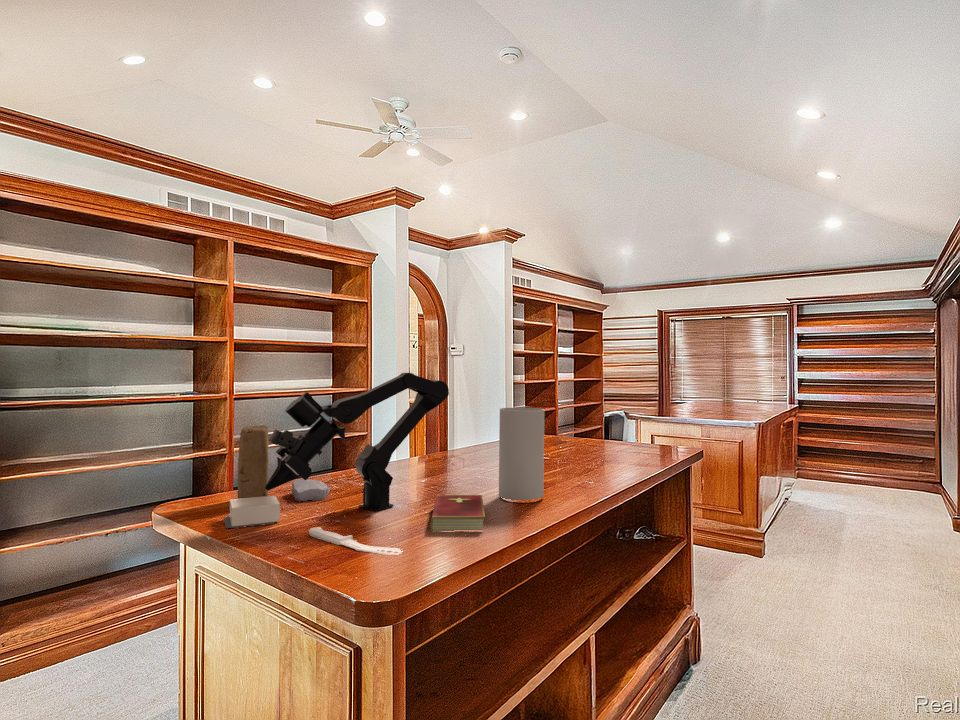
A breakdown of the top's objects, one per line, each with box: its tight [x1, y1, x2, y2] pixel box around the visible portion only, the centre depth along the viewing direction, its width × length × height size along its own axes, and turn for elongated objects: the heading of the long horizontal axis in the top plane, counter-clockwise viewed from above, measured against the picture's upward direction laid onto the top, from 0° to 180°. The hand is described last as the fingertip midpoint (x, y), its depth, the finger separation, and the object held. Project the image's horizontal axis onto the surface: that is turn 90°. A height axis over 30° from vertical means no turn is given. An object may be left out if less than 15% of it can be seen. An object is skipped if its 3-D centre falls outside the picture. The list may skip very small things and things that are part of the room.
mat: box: [223, 515, 275, 530], centre depth 126 cm, size 10×10×1 cm
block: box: [237, 425, 270, 499], centre depth 145 cm, size 11×8×20 cm
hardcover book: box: [429, 494, 486, 533], centre depth 130 cm, size 12×21×4 cm, turn 2°
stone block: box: [291, 478, 330, 502], centre depth 152 cm, size 12×5×10 cm
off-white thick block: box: [229, 495, 281, 526], centre depth 127 cm, size 4×9×10 cm
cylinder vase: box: [498, 407, 545, 500], centre depth 153 cm, size 12×12×25 cm
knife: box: [308, 526, 404, 556], centre depth 111 cm, size 30×2×8 cm
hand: (266, 489), depth 128 cm, fingers closed
